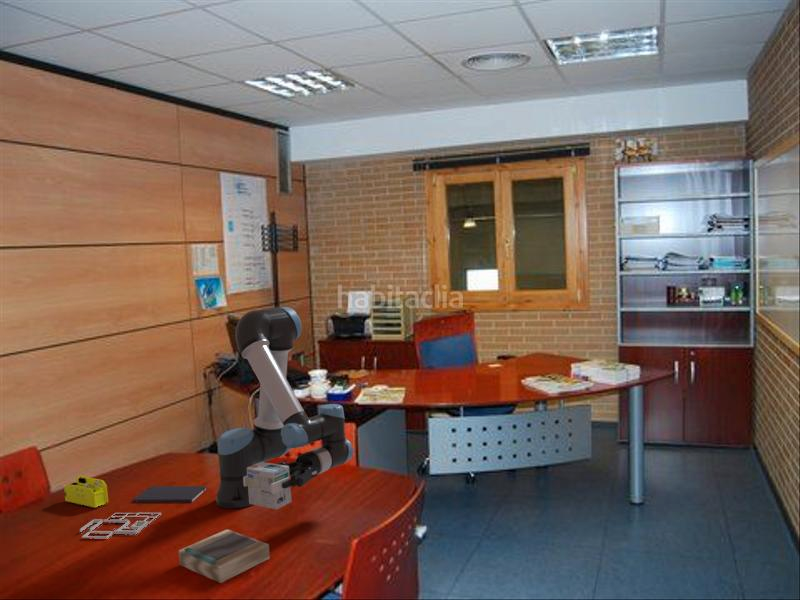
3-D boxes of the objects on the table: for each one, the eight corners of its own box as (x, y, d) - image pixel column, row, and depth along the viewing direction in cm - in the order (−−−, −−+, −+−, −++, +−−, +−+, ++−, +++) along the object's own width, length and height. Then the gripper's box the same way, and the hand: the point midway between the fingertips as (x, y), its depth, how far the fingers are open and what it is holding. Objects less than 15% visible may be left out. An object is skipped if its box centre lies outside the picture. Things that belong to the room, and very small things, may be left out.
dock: (179, 564, 182) (178, 546, 182) (228, 542, 195) (227, 525, 194) (220, 583, 171) (219, 563, 171) (269, 558, 184) (268, 539, 183)
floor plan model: (59, 550, 196) (58, 543, 196) (107, 515, 221) (107, 509, 221) (119, 551, 194) (119, 544, 194) (161, 516, 219) (161, 510, 218)
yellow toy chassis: (109, 504, 230) (107, 480, 229) (95, 510, 225) (92, 486, 225) (79, 497, 238) (77, 474, 237) (64, 503, 233) (62, 479, 232)
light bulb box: (292, 502, 193) (290, 465, 192) (276, 510, 187) (274, 472, 186) (264, 496, 199) (261, 460, 198) (247, 504, 193) (245, 467, 192)
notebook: (132, 503, 231) (192, 503, 228) (132, 499, 230) (191, 499, 228) (150, 490, 243) (207, 490, 240) (150, 486, 243) (207, 485, 240)
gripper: (342, 481, 200) (287, 506, 182) (287, 468, 214) (231, 490, 196) (340, 456, 199) (286, 479, 182) (285, 445, 213) (229, 465, 196)
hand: (257, 485), depth 189 cm, fingers closed on light bulb box, 11 cm apart
